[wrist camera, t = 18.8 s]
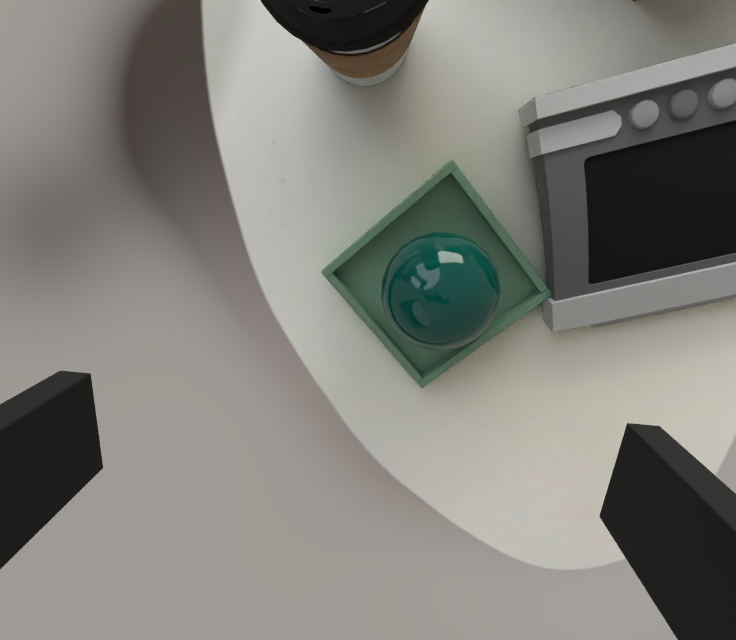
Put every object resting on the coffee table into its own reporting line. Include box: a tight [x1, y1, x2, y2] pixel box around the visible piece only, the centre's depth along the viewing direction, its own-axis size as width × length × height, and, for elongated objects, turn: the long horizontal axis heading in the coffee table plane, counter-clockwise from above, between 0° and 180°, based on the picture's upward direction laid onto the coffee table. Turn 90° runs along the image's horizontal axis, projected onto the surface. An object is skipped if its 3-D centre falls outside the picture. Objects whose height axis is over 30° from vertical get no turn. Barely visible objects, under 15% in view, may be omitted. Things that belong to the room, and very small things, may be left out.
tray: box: [322, 160, 551, 388], centre depth 32 cm, size 12×12×2 cm
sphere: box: [381, 232, 501, 350], centre depth 29 cm, size 8×8×8 cm
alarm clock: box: [518, 43, 736, 332], centre depth 29 cm, size 17×5×16 cm
